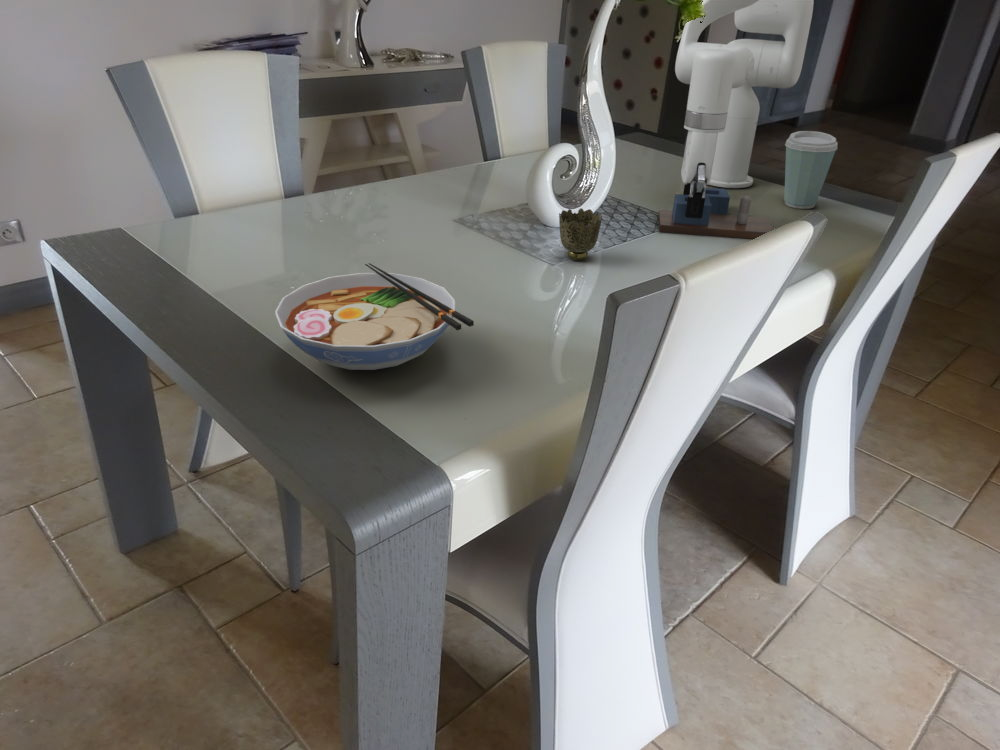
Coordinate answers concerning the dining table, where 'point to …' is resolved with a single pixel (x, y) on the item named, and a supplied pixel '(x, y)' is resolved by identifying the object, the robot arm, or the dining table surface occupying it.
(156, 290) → the dining table surface
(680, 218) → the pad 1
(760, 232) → the wooden peg board
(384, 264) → the dining table surface
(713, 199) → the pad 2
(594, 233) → the cup
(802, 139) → the disposable coffee cup
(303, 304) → the ramen bowl
